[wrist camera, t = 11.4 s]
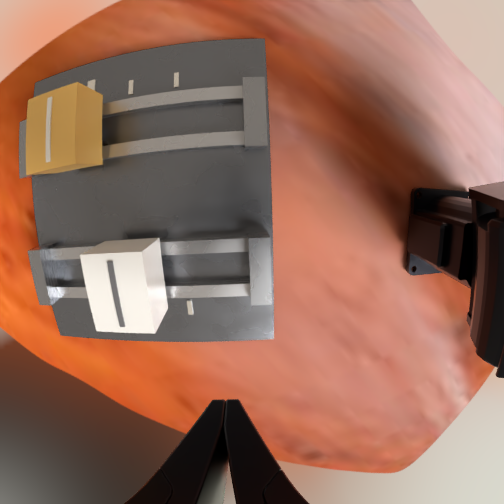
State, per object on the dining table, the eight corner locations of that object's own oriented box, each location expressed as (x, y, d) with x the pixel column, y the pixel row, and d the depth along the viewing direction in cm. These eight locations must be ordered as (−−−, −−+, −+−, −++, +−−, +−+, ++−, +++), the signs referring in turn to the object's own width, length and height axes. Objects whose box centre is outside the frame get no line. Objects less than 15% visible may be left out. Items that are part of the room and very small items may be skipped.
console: (263, 45, 16) (266, 26, 13) (272, 330, 21) (276, 353, 18) (43, 86, 16) (21, 78, 13) (67, 328, 21) (50, 346, 18)
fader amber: (111, 99, 15) (76, 81, 11) (111, 164, 16) (74, 163, 12) (66, 111, 15) (27, 99, 11) (66, 172, 16) (25, 175, 12)
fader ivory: (164, 233, 18) (141, 252, 13) (172, 299, 19) (154, 334, 14) (113, 236, 18) (78, 255, 13) (123, 299, 19) (95, 332, 14)
